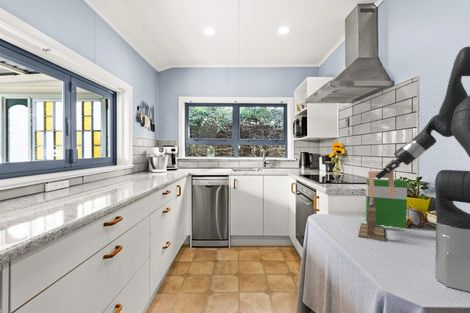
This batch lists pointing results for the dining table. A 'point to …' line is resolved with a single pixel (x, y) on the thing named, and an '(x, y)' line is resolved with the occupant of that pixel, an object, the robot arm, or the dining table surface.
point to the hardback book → (389, 203)
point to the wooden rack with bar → (371, 224)
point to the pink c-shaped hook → (390, 177)
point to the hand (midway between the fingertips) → (377, 177)
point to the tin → (417, 217)
